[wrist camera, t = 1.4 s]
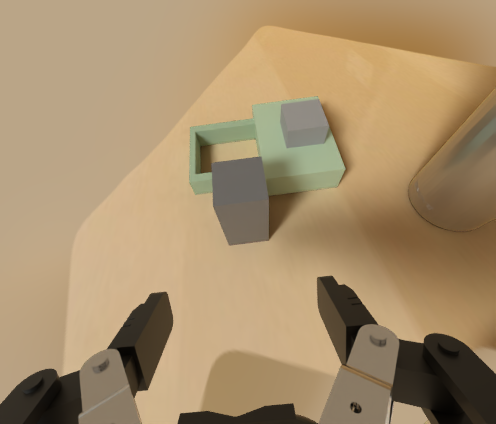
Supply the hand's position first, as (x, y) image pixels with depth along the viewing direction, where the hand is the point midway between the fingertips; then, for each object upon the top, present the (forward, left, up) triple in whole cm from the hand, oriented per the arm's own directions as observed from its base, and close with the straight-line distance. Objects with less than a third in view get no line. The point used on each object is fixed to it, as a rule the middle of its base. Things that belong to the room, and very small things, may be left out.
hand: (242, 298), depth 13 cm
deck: (-3, -22, -15) cm, 27 cm away
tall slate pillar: (0, -11, -15) cm, 19 cm away
